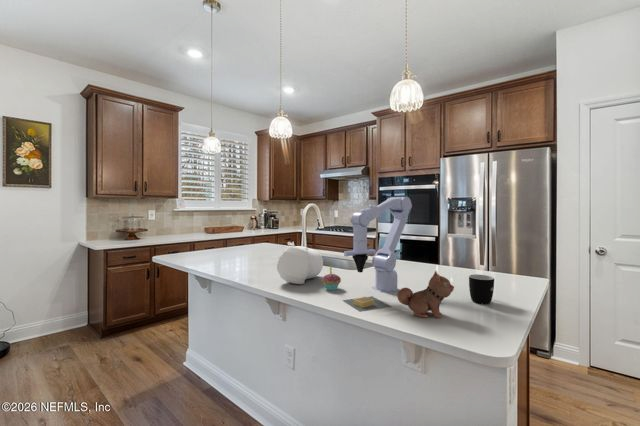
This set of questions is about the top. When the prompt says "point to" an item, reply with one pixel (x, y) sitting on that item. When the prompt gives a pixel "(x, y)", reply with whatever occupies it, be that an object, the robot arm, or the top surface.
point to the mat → (377, 305)
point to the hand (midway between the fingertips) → (360, 271)
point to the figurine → (427, 296)
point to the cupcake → (331, 280)
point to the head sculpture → (299, 264)
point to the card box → (363, 302)
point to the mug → (481, 288)
